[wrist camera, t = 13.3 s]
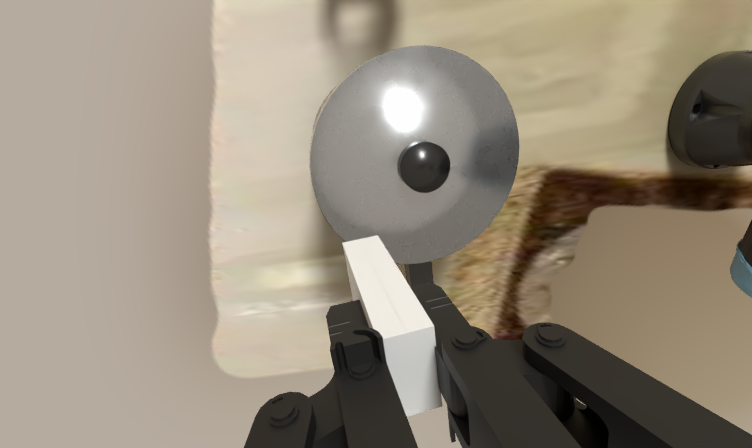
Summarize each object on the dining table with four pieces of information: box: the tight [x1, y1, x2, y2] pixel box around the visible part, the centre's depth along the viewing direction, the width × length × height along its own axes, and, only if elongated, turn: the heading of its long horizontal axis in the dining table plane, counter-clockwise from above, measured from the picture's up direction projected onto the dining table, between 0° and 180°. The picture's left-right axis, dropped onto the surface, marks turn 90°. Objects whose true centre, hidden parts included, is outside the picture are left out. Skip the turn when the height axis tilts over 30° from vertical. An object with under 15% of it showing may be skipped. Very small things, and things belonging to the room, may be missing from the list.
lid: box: [310, 46, 519, 264], centre depth 32 cm, size 18×18×3 cm
